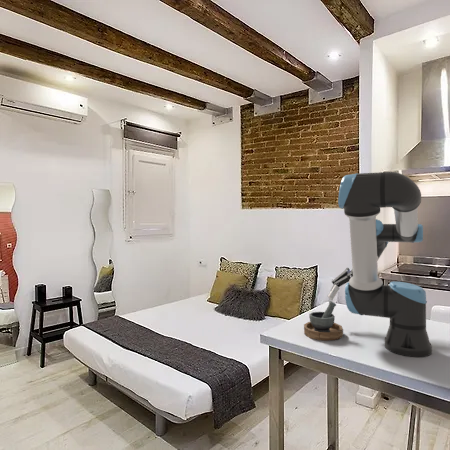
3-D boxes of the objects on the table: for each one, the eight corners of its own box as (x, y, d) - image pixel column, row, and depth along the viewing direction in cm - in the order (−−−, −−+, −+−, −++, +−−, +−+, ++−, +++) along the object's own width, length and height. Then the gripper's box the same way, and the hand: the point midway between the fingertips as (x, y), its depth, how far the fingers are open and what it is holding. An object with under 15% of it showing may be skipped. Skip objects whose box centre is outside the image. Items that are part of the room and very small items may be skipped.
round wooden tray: (350, 337, 139) (350, 330, 139) (317, 342, 134) (317, 335, 134) (327, 326, 153) (327, 319, 153) (297, 330, 148) (297, 323, 148)
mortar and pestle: (317, 337, 137) (316, 306, 137) (305, 329, 146) (305, 300, 146) (342, 333, 140) (342, 304, 140) (329, 326, 149) (329, 298, 149)
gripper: (395, 271, 145) (371, 313, 139) (347, 264, 167) (325, 300, 160) (387, 260, 143) (362, 302, 136) (339, 254, 164) (316, 290, 158)
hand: (342, 301), depth 148 cm, fingers open, 13 cm apart
